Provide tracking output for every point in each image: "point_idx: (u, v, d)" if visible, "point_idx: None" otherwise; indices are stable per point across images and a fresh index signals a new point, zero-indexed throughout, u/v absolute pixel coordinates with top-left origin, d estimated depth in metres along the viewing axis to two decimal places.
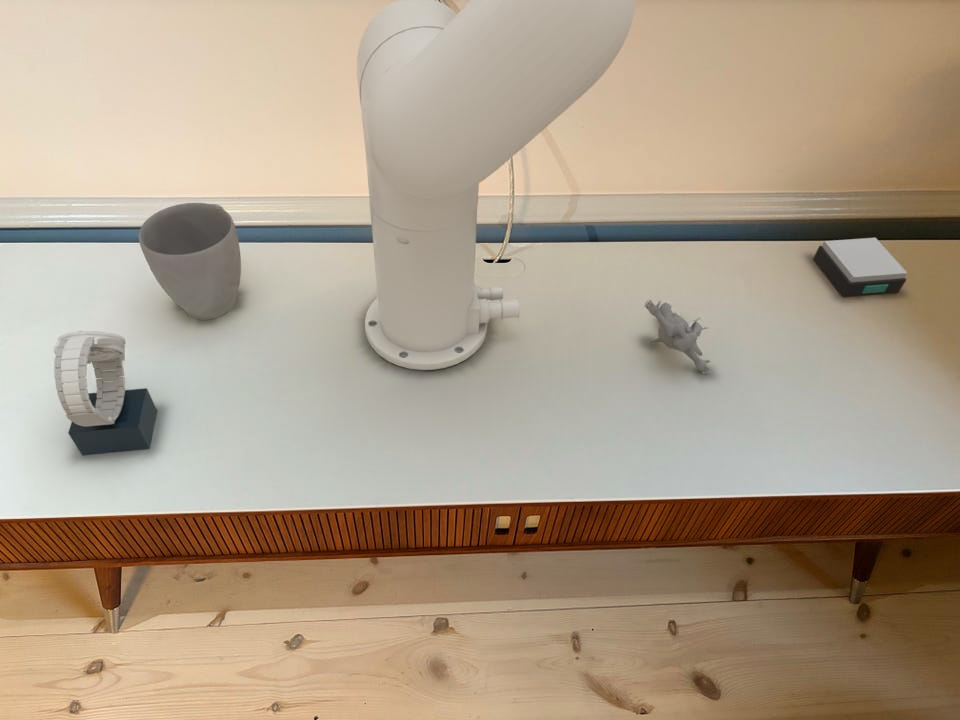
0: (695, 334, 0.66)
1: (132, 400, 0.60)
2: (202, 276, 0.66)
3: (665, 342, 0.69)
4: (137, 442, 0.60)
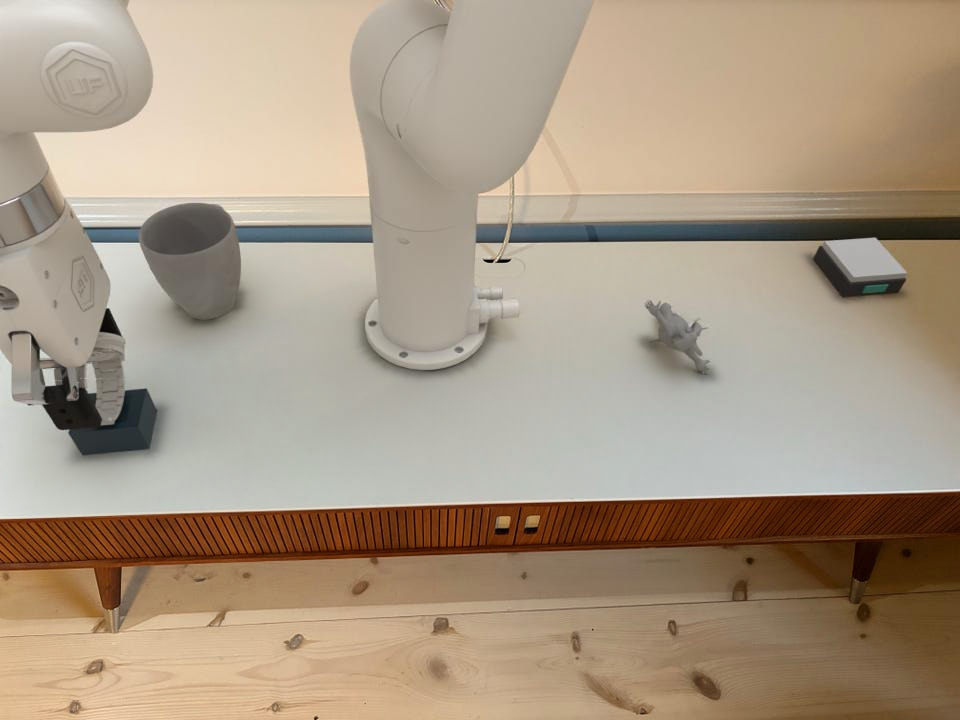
0: (695, 334, 0.66)
1: (132, 400, 0.60)
2: (202, 276, 0.66)
3: (665, 342, 0.69)
4: (137, 442, 0.60)
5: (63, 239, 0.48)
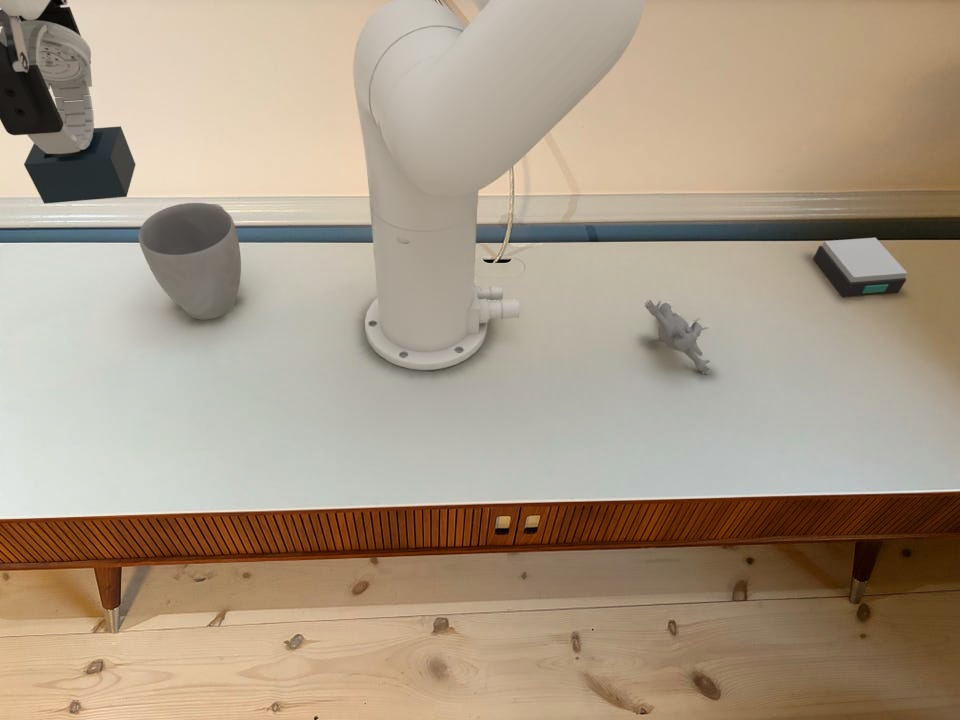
0: (695, 334, 0.66)
1: (103, 136, 0.49)
2: (202, 276, 0.66)
3: (665, 342, 0.69)
4: (111, 186, 0.49)
5: None
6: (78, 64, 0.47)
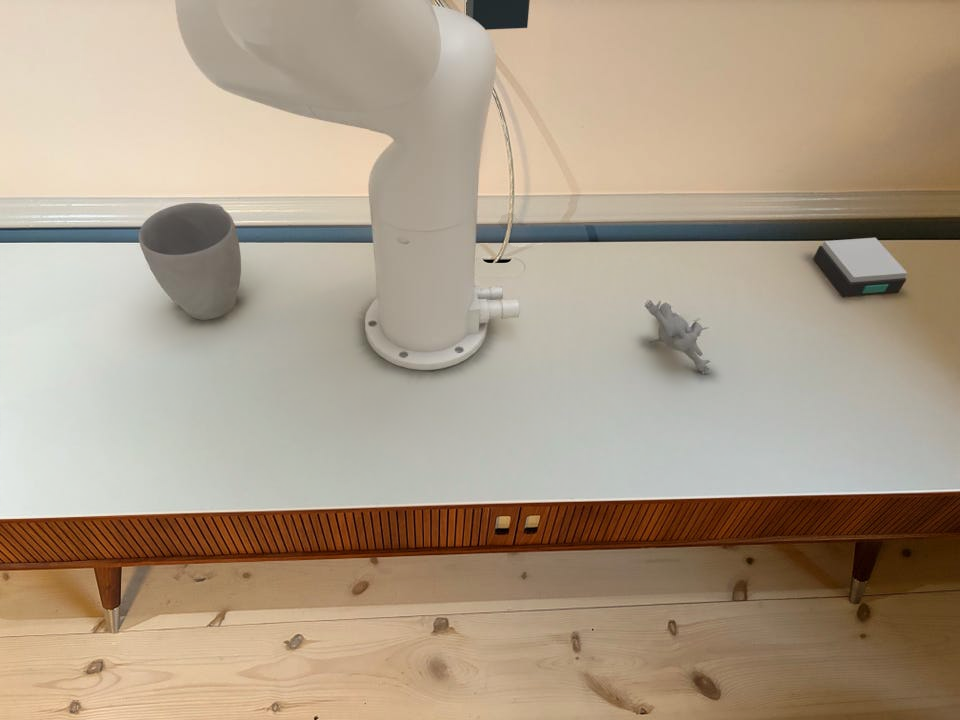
0: (695, 334, 0.66)
1: None
2: (202, 276, 0.66)
3: (665, 342, 0.69)
4: (521, 18, 0.68)
5: None
6: None
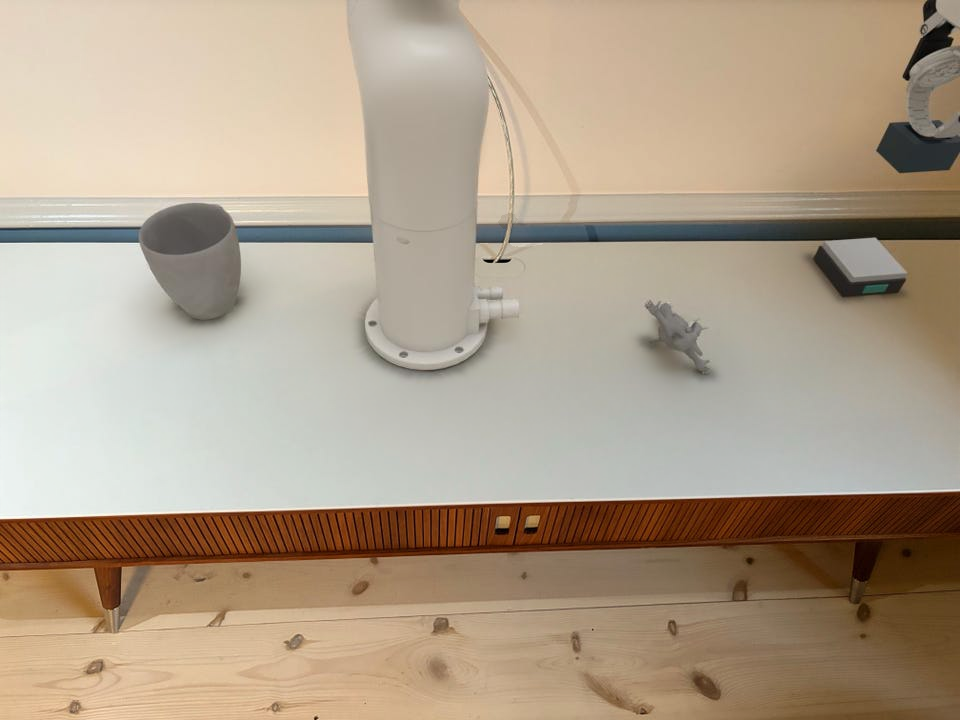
0: (695, 334, 0.66)
1: (938, 126, 0.70)
2: (202, 276, 0.66)
3: (665, 342, 0.69)
4: (947, 162, 0.69)
5: None
6: (955, 76, 0.67)
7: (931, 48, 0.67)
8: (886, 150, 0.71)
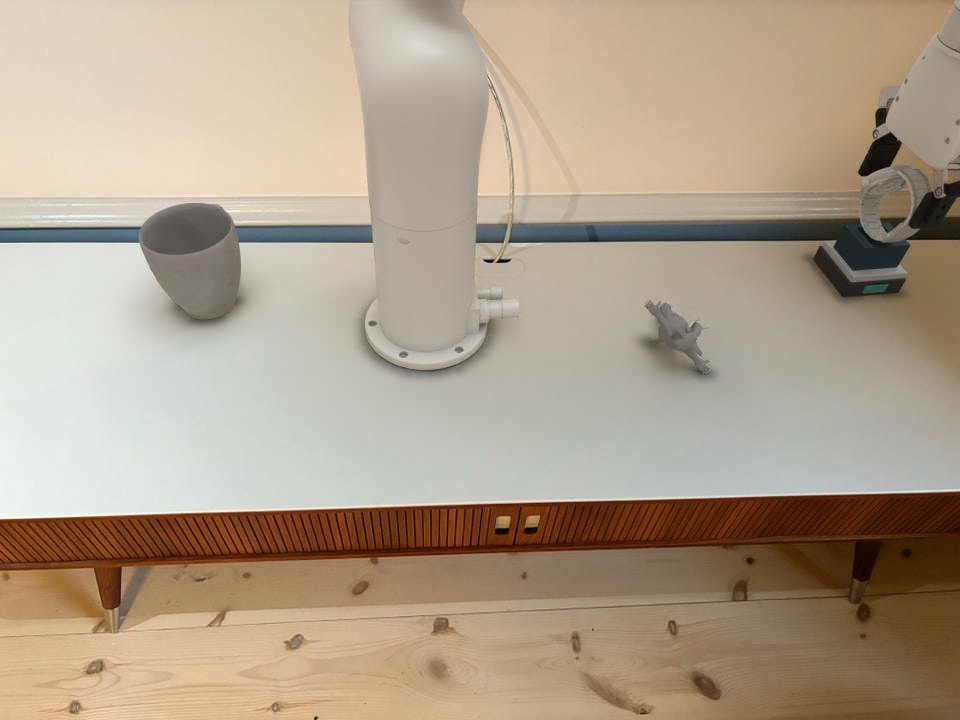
0: (695, 334, 0.66)
1: (887, 229, 0.78)
2: (202, 276, 0.66)
3: (665, 342, 0.69)
4: (895, 261, 0.78)
5: None
6: (900, 187, 0.75)
7: (882, 150, 0.75)
8: (841, 248, 0.79)
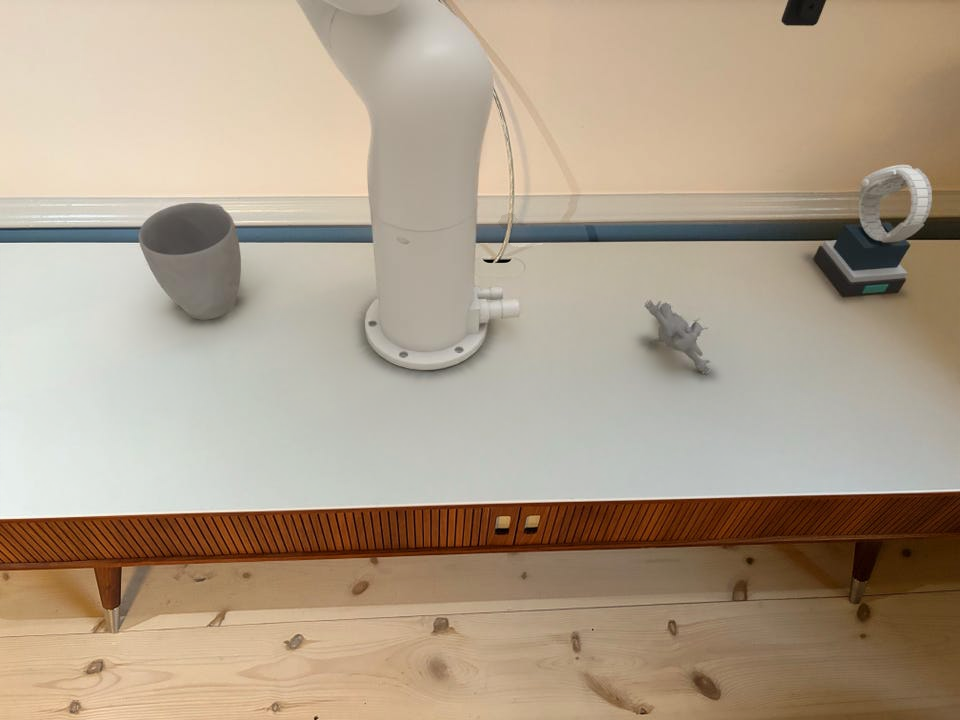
0: (695, 334, 0.66)
1: (887, 229, 0.78)
2: (202, 276, 0.66)
3: (665, 342, 0.69)
4: (895, 261, 0.78)
5: None
6: (900, 187, 0.76)
7: None
8: (841, 248, 0.79)
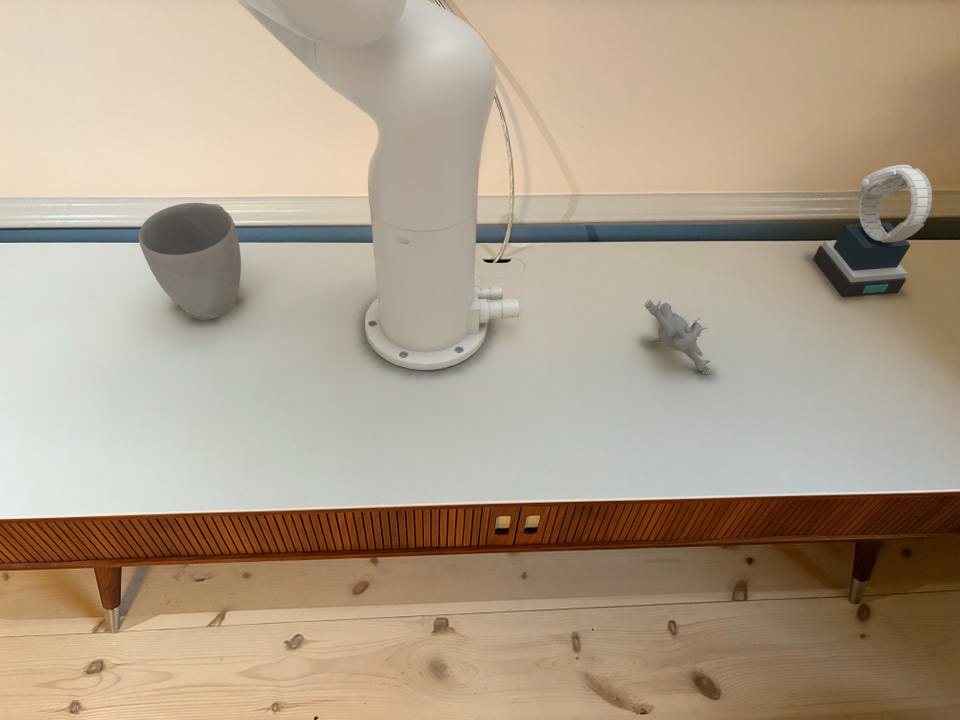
0: (695, 334, 0.66)
1: (887, 229, 0.78)
2: (202, 276, 0.66)
3: (665, 342, 0.69)
4: (895, 261, 0.78)
5: None
6: (900, 187, 0.76)
7: None
8: (841, 248, 0.79)
